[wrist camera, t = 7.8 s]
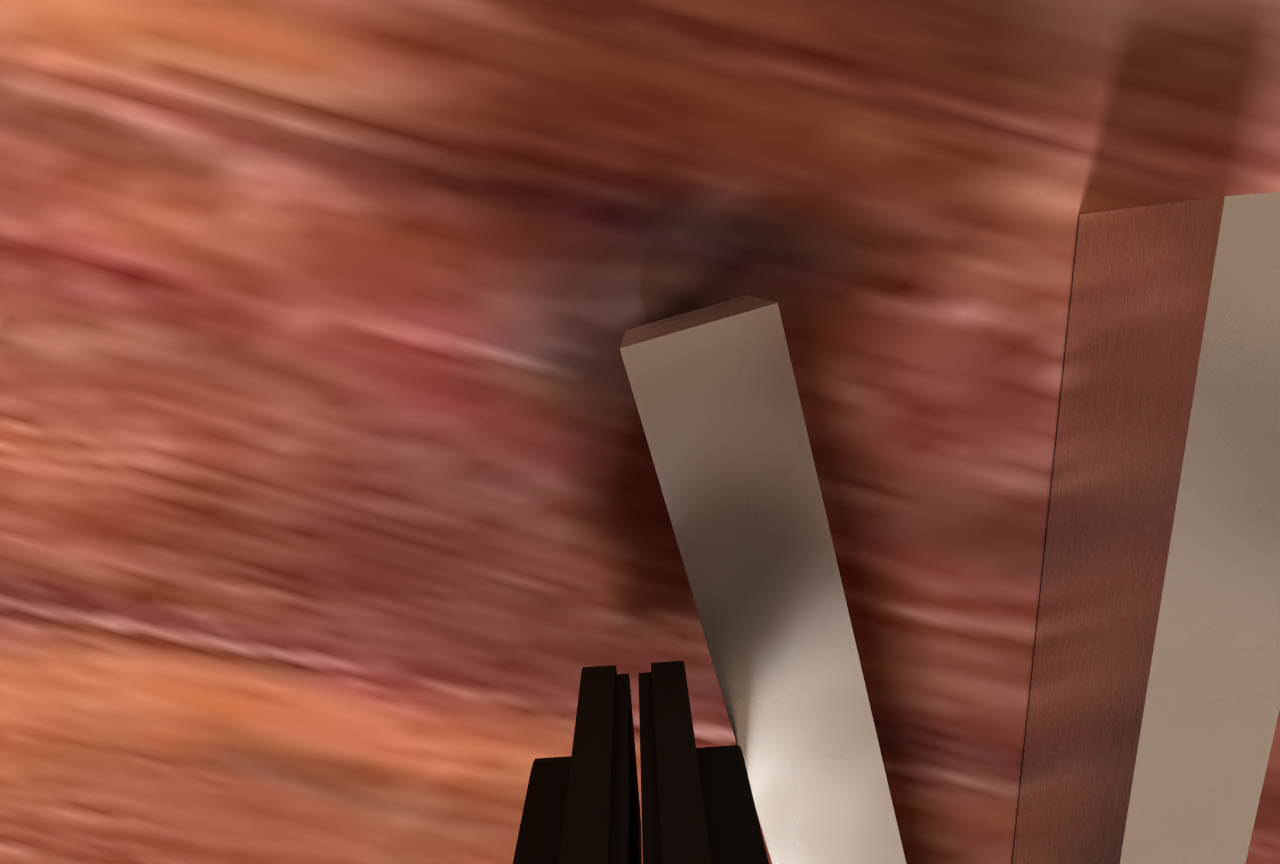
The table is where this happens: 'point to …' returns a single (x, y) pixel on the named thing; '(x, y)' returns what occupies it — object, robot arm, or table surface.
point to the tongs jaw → (765, 576)
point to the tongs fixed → (1161, 544)
